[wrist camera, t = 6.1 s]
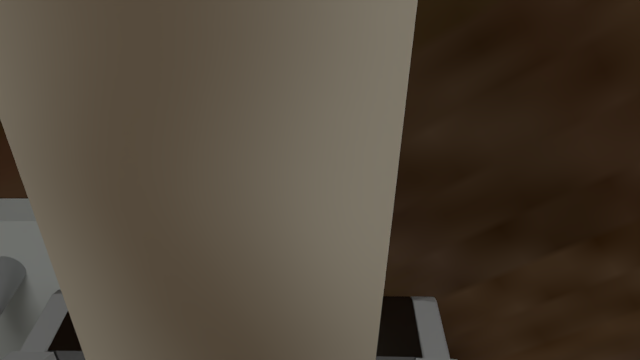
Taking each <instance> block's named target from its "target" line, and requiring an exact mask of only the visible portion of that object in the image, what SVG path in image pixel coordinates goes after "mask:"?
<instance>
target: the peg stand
mask: <svg viewBox="0 0 640 360" xmlns="http://www.w3.org/2000/svg"><path fill="white" fill-rule="evenodd" d="M57 290H61V289H60V286H59V283H58V280H57V278H56V275H55V272H54V269H53V266H52V263H51V261H50V258H49V255H48V252H47V249H46V247H45V244H44V241H43V238H42V235H41V232H40V230H39V227H38V224H37V221H36V218H35V215H34V213H33V210H32V207H31V204H30V201H29V199H0V359H2V358H3V357H5V356H6V355H7V354H9V353H10V352H12V351H20V349H21V348H22V346H23V344H24V342H25V341H26V339H27V337H28V335H29V334H30V332H31V330H32V328H33V327H34V325H35V323H36V321H37V320H38V318H39V316H40V315H41V313H42V311H43V309H44V308H45V306H46V304H47V302H48V301H49V299H50V297H51V295H52V294H54V293H55V292H56V291H57Z"/></svg>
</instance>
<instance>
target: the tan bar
mask: <svg viewBox="0 0 640 360" xmlns="http://www.w3.org/2000/svg"><path fill="white" fill-rule="evenodd" d="M417 1H418V0H0V119H1V122H2V125H3V128H4V131H5V133H6V136H7V139H8V142H9V145H10V148H11V150H12V153H13V156H14V159H15V162H16V165H17V167H18V170H19V173H20V176H21V179H22V182H23V184H24V187H25V190H26V193H27V196H28V198H29V201H30V204H31V207H32V210H33V213H34V215H35V218H36V221H37V224H38V227H39V230H40V232H41V235H42V238H43V241H44V244H45V247H46V249H47V252H48V255H49V258H50V261H51V263H52V266H53V269H54V272H55V275H56V278H57V280H58V283H59V286H60V289H61V292H62V295H63V297H64V300H65V303H66V306H67V309H68V312H69V314H70V317H71V320H72V323H73V326H74V329H75V331H76V334H77V337H78V340H79V343H80V345H81V348H82V351H83V354H84V357H85V360H376V352H377V344H378V335H379V326H380V318H381V309H382V301H383V292H384V284H385V275H386V266H387V258H388V249H389V241H390V232H391V224H392V215H393V206H394V198H395V189H396V181H397V172H398V164H399V155H400V146H401V138H402V129H403V121H404V112H405V104H406V95H407V86H408V78H409V69H410V61H411V52H412V44H413V35H414V26H415V18H416V9H417Z"/></svg>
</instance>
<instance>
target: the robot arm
mask: <svg viewBox="0 0 640 360" xmlns="http://www.w3.org/2000/svg"><path fill="white" fill-rule="evenodd" d="M0 360H85V357H84V354H83V351H82V348H81V345H80V343H79V340H78V337H77V334H76V331H75V329H74V326H73V323H72V320H71V317H70V314H69V312H68V309H67V306H66V303H65V300H64V297H63V295H62V292H61V290H57V291H56V292H55V293H54V294H52V295H51V297H50V299H49V301H48V302H47V304H46V306H45V308H44V309H43V311H42V313H41V315H40V316H39V318H38V320H37V321H36V323H35V325H34V327H33V328H32V330H31V332H30V334H29V335H28V337H27V339H26V341H25V342H24V344H23V346H22V348H21V349H20V351H12V352H10V353H9V354H7V355H6V356H5V357H3V358H2V359H0ZM376 360H457V359H450V356H449V351H448V347H447V343H446V339H445V335H444V330H443V326H442V322H441V318H440V313H439V309H438V305H437V301H436V299H435V298H434V297H406V296H383V301H382V309H381V318H380V326H379V335H378V344H377V352H376Z"/></svg>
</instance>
